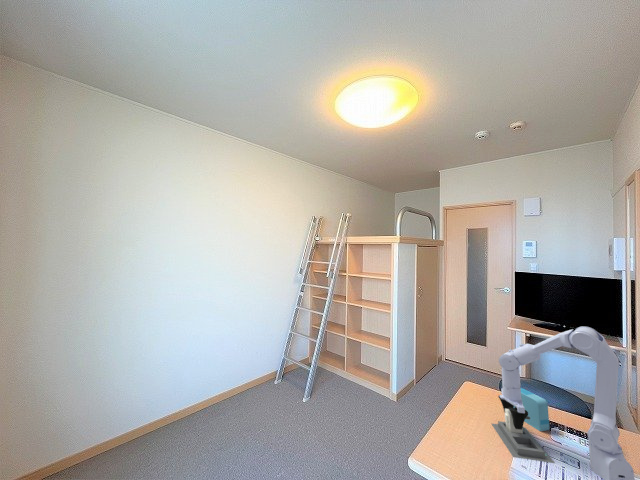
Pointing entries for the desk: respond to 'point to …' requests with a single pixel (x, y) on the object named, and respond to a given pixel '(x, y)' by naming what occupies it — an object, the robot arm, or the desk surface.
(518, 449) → the jack panel
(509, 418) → the plug
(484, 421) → the desk surface
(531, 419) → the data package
